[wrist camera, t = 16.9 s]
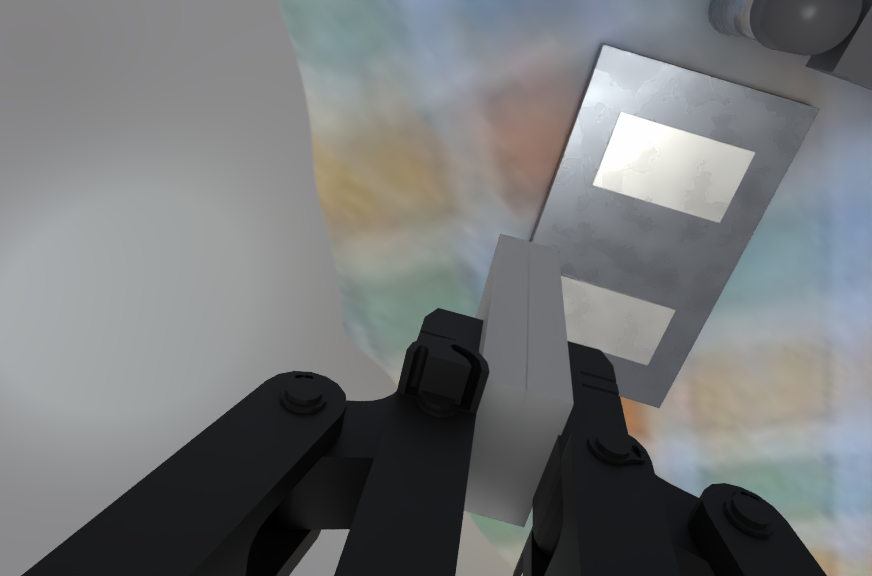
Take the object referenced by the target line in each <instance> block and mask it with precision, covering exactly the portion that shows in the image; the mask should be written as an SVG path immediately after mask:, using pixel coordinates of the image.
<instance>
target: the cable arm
mask: <svg viewBox="0 0 872 576" xmlns="http://www.w3.org/2000/svg"><path fill="white" fill-rule="evenodd" d="M750 27H751V30H752V33H753V35H754V37H755V38H756V39H757V40H758V41H759V42H760V43H761V44H762V45H764V46H765V47H767V48H770V49H774V50H779V51H784V52H789V53H794V54H799V55H812V56H811V58H810V60H809V61H808V63H807V65H806V66H807V67H810V68H813V69H815V70H818V71H821V72H824V73H827V74H829V75H832V76H835V77H838V78H840V79H843V80H846V81H849V82H852V83H854V84H857V85H860V86H863V87H865V88H868V89H871V90H872V0H754V1H753V3H752V6H751V10H750Z"/></svg>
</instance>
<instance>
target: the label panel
mask: <svg viewBox="0 0 872 576" xmlns="http://www.w3.org/2000/svg"><path fill="white" fill-rule="evenodd" d="M753 1H754V0H712V1H711V3H710V7H709V19H710V22H711V24H712V26H713V27H714V28H715V29H716V30H717V31H718V32H720V33H722V34H726V35H732V36H738V37H743V38H749V39H755V40H757V39H756V38H755V37H754V35H753V33H752V30H751V27H750V10H751V6H752V3H753ZM819 110H820V109H818V108H815V107H813V106H810V105H807V104H803V103H800V102H797V101H793V100H790V99H787V98H783V97H780V96H777V95H773V94H770V93H766V92H763V91H760V90H756V89H753V88H750V87H746V86H743V85H740V84H736V83H733V82H730V81H726V80H723V79H720V78H716V77H713V76H709V75H706V74H703V73H699V72H696V71H693V70H689V69H686V68H683V67H679V66H676V65H673V64H669V63H666V62H662V61H659V60H656V59H652V58H649V57H646V56H642V55H639V54H636V53H632V52H629V51H626V50H622V49H619V48H615V47H612V46H609V45H605V44H602V43H601V45H600V48H599V51H598V54H597V56H596V59H595V62H594V65H593V67H592V70H591V73H590V76H589V79H588V81H587V84H586V87H585V90H584V92H583V95H582V98H581V101H580V103H579V106H578V109H577V112H576V114H575V117H574V120H573V123H572V126H571V128H570V131H569V134H568V137H567V139H566V142H565V145H564V148H563V150H562V153H561V156H560V159H559V162H558V164H557V167H556V170H555V173H554V175H553V178H552V181H551V184H550V186H549V189H548V192H547V195H546V197H545V200H544V203H543V206H542V209H541V211H540V214H539V217H538V220H537V222H536V225H535V228H534V231H533V233H532V236H531V239H530V242H534V243H538V244H541V245H545V246H549V247H553V248H557V249H558V251H559V262H560V272H561V282H562V292H563V302H564V312H565V322H566V332H567V341H570V342H573V343H577V344H581V345H584V346H588V347H592V348H596V349H599V350H601V351H602V352H603V353H604V355H605V356H606V357H607V358H608V360H609V361H610V362H611V363H612V365H613V367H614V372H615V376H616V384H617V385H618V390H619V396H621V397H624V398H627V399H631V400H634V401H637V402H641V403H644V404H647V405H651V406H654V407H657V408H660V406H661V404H662V402H663V400H664V399H665V397H666V395H667V393H668V391H669V389H670V387H671V385H672V384H673V382H674V380H675V378H676V376H677V374H678V372H679V371H680V369H681V367H682V365H683V363H684V361H685V359H686V358H687V356H688V354H689V352H690V350H691V348H692V346H693V344H694V343H695V341H696V339H697V337H698V335H699V333H700V331H701V330H702V328H703V326H704V324H705V322H706V320H707V318H708V317H709V315H710V313H711V311H712V309H713V307H714V305H715V303H716V302H717V300H718V298H719V296H720V294H721V292H722V290H723V289H724V287H725V285H726V283H727V281H728V279H729V277H730V276H731V274H732V272H733V270H734V268H735V266H736V264H737V262H738V261H739V259H740V257H741V255H742V253H743V251H744V249H745V248H746V246H747V244H748V242H749V240H750V238H751V236H752V235H753V233H754V231H755V229H756V227H757V225H758V223H759V221H760V220H761V218H762V216H763V214H764V212H765V210H766V208H767V207H768V205H769V203H770V201H771V199H772V197H773V195H774V194H775V192H776V190H777V188H778V186H779V184H780V182H781V180H782V179H783V177H784V175H785V173H786V171H787V169H788V167H789V166H790V164H791V162H792V160H793V158H794V156H795V154H796V153H797V151H798V149H799V147H800V145H801V143H802V141H803V140H804V138H805V136H806V134H807V132H808V130H809V128H810V126H811V125H812V123H813V121H814V119H815V117H816V115H817V113H818V112H819Z"/></svg>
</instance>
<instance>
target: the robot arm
mask: <svg viewBox="0 0 872 576" xmlns="http://www.w3.org/2000/svg"><path fill="white" fill-rule="evenodd" d="M532 506H533V527H532V529H531V532H530V534H529V536H528V539H527V541H526V544H525V546H524V549H523V551H522V553H521V556H520V558H519V561H518V563H517V566H516V568H515V570H514V573H513V576H521V574H522V573H523V576H827V575H826V574H825V572H824V571H823V570H822V568H821V567H820V566H819V564H818V563H817V561H816V560H815V559H814V557H813V556H812V555H811V553H810V552H809V551H808V549H807V548H806V547H805V545H804V544H803V542H802V541H801V540H800V538H799V537H798V536H797V534H796V533H795V532H794V530H793V529H792V527H791V526H790V525H789V523H788V522H787V521H786V520H785V518H784V517H783V516H782V515H781V514H780V513H779V512H778V511H777V510H776V509H775V508H774V507H773V506H772V505H770V504H769V503H768V502H766V501H765V500H763V499H762V498H761V497H760V496H758V495H756V494H754V493H753V492H750V491H748V490H746V489H744V488H742V487H738V486H734V485H730V484H726V483H722V484H712V485H710V486H709V487H707V488H706V489H705V490H704V491H703V493H702V494H701V496H700V498H698V497H696V496H694V495H692V494H690V493H688V492H686V491H684V490H682V489H680V488H678V487H676V486H674V485H672V484H670V483H668V482H666V481H665V480H663V479H661V478H660V477H658V476H657V475H655V473H654V469H653V465H652V461H651V459H650V457H649V455H648V453H647V451H646V449H645V448H644V447H643V446H642V445H641V444H640V443H639V442H638V441H637V440H636V439H635V438H633V437H632V436H630V435H628V431H627V427H626V422H625V418H624V413H623V408H622V404H621V399H620V396H619V390H618V385H617V384H616V376H615V372H614V367H613V365H612V363H611V362H610V361H609V360H608V358H607V357H606V356H605V355H604V353H603V352H602V351H601V350H599V349H596V348H592V347H588V346H584V345H581V344H577V343H573V342H570V341H567V332H566V322H565V312H564V302H563V292H562V282H561V272H560V262H559V251H558V249H557V248H553V247H549V246H545V245H541V244H538V243H534V242H530V241H526V240H522V239H519V238H515V237H511V236H507V235H503V234H500V236H499V239H498V243H497V246H496V250H495V253H494V257H493V260H492V264H491V267H490V270H489V274H488V277H487V281H486V284H485V288H484V291H483V294H482V298H481V301H480V305H479V308H478V312H477V315H476V318H473V317H470V316H466V315H462V314H458V313H455V312H451V311H447V310H443V309H440V308H438V309H436V310H435V311H433V312H432V313H430V314H429V315H427V316H426V317H425V318H424V321H423V324H422V327H421V330H420V333H419V336H418V339H417V341H415V342H413V343H412V344H411V345H410V346H409V348H408V349H407V351H406V355H405V359H404V364H403V368H402V372H401V376H400V380H399V385H398V389H397V391H396V392H395V393H394V394H392V395H390V396H388V397H386V398H383V399H379V400H374V401H346V395H345V393H344V391H343V390H342V389H341V387H340V386H339V385H338V384H337V383H335V382H334V381H332V380H331V379H329V378H327V377H325V376H322V375H319V374H316V373H312V372H300V371H292V372H287V373H282V374H278V375H276V376H274V377H272V378H270V379H268V380H267V381H265V382H264V383H263V384H261V385H260V386H259V387H258V388H256V389H255V390H254V391H253V392H251V393H250V394H249V395H248V396H246V397H245V398H244V399H243V400H241V401H240V402H239V403H237V404H236V405H235V406H234V407H233V408H231V409H230V410H229V411H227V412H226V413H225V414H224V415H223V416H221V417H220V418H219V419H217V420H216V421H215V422H214V423H212V424H211V425H210V426H209V427H207V428H206V429H205V430H204V431H202V432H201V433H200V434H199V435H197V436H196V437H195V438H194V439H192V440H191V441H190V442H189V443H187V444H186V445H185V446H183V447H182V448H181V449H180V450H178V451H177V452H176V453H175V454H174V455H172V456H171V457H170V458H169V459H167V460H166V461H165V462H163V463H162V464H161V465H160V466H158V467H157V468H156V469H155V470H153V471H152V472H151V473H150V474H148V475H147V476H146V477H145V478H143V479H142V480H141V481H140V482H138V483H137V484H136V485H135V486H133V487H132V488H131V489H130V490H128V491H127V492H126V493H124V494H123V495H122V496H121V497H119V498H118V499H117V500H116V501H114V502H113V503H112V504H111V505H109V506H108V507H107V508H106V509H104V510H103V511H102V512H101V513H99V514H98V515H97V516H96V517H94V518H93V519H92V520H91V521H89V522H88V523H87V524H86V525H85V526H83V527H82V528H81V529H79V530H78V531H77V532H75V533H74V534H73V535H72V536H70V537H69V538H68V539H67V540H65V541H64V542H63V543H62V544H61V545H59V546H58V547H57V548H55V549H54V550H53V551H52V552H50V553H49V554H48V555H47V556H45V557H44V558H43V559H42V560H40V561H39V562H38V563H37V564H35V565H34V566H33V567H32V568H30V569H29V570H28V571H26V572H25V573H24V574H23V575H21V576H289V575H290V574H291V572H292V571H293V570H294V568H295V567H296V566H297V564H298V563H299V562H300V560H301V559H302V558H303V556H304V555H305V554H306V553H307V551H308V550H309V549H310V547H311V546H312V544H313V543H314V542H315V541H316V539H317V538H318V536H319V534H320V531H321V529H350V531H349V534H348V536H347V539H346V543H345V545H344V549H343V551H342V554H341V557H340V560H339V563H338V566H337V569H336V572H335V575H334V576H455V573H456V565H457V558H458V550H459V543H460V535H461V528H462V520H463V512H464V511H468V512H471V513H475V514H478V515H482V516H486V517H489V518H493V519H496V520H500V521H504V522H507V523H511V524H514V525H518V526H522V527H524V526H525V523H526V521H527V519H528V516H529V514H530V511H531V509H532Z"/></svg>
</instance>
